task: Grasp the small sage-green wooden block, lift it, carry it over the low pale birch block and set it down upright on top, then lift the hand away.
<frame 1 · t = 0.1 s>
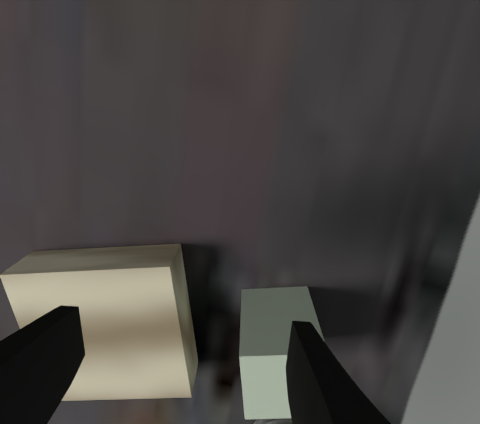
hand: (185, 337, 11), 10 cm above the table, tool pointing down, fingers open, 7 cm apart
birch block: (121, 310, 22), on the table
sage block: (275, 314, 22), on the table
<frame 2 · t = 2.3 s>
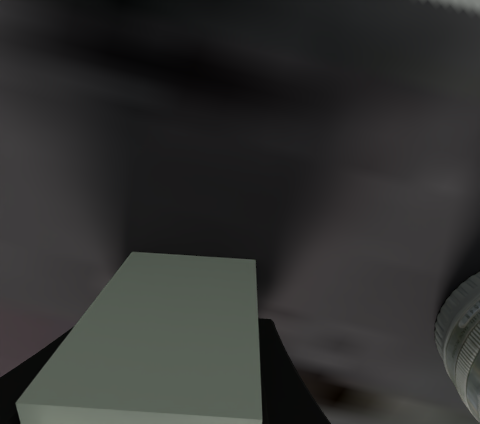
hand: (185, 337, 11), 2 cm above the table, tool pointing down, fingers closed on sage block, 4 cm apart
sage block: (193, 307, 12), on the table, touching gripper
when the fingers open (6 cm above the table, at t = 6.9 s): sage block stays where it is, resting on birch block.
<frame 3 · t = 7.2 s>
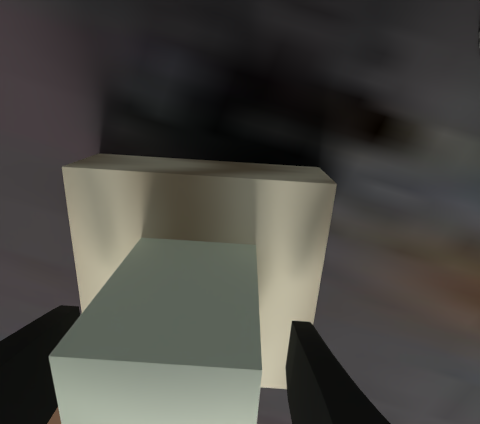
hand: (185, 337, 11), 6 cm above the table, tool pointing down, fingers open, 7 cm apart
birch block: (206, 258, 16), on the table
sage block: (197, 290, 13), point 3 cm above the table, touching birch block
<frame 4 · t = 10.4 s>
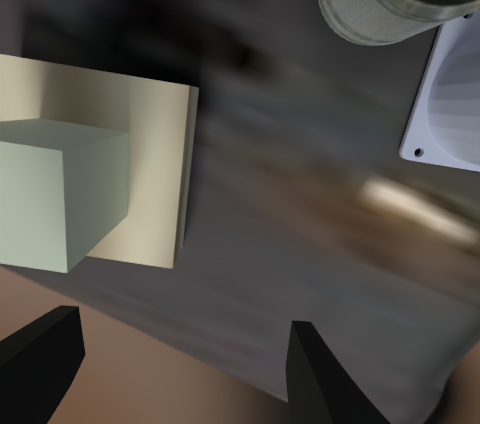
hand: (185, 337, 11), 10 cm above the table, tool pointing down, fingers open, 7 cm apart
birch block: (109, 161, 19), on the table
sage block: (85, 169, 16), point 3 cm above the table, touching birch block
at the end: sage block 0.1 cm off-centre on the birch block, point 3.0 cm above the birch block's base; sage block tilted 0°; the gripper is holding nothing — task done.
